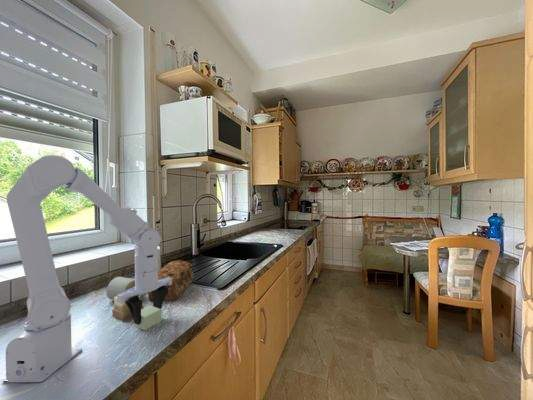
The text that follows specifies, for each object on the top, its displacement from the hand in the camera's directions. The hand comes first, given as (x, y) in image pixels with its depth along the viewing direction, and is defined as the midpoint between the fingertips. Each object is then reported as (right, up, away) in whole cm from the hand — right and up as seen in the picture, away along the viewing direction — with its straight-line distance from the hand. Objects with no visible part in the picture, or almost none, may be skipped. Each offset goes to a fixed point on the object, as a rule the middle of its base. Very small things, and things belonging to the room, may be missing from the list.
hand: (147, 318), depth 63 cm
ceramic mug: (-16, -2, +17) cm, 24 cm away
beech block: (-9, 0, +5) cm, 11 cm away
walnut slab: (-9, -2, +5) cm, 10 cm away
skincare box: (-15, -2, +31) cm, 35 cm away
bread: (-2, -2, +23) cm, 23 cm away
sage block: (0, -1, 0) cm, 1 cm away
